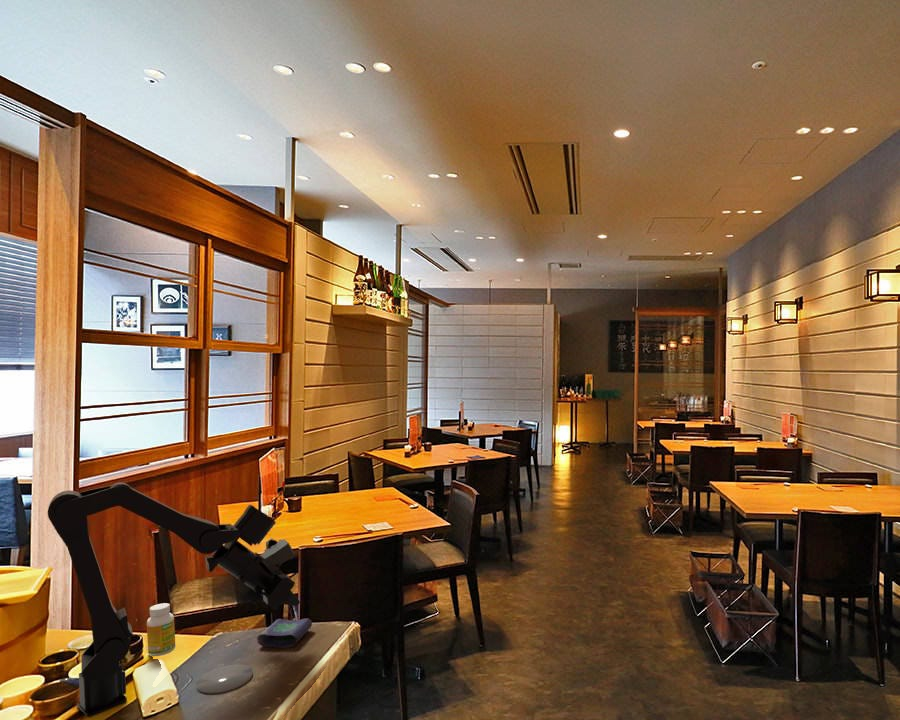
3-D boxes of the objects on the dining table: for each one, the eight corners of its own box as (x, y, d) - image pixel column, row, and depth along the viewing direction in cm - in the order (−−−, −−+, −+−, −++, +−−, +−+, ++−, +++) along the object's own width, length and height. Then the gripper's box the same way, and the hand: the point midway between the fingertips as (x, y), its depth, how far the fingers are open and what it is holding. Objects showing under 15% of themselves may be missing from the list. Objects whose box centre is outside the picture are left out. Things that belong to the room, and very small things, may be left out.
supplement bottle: (164, 657, 125) (162, 611, 126) (142, 656, 126) (140, 611, 127) (180, 646, 131) (178, 601, 131) (159, 645, 132) (157, 601, 132)
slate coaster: (211, 699, 106) (211, 696, 106) (187, 683, 113) (187, 680, 113) (262, 676, 113) (261, 673, 114) (236, 662, 120) (236, 659, 120)
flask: (256, 634, 127) (278, 615, 137) (256, 648, 127) (279, 628, 137) (296, 634, 125) (315, 615, 136) (297, 648, 125) (316, 628, 136)
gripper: (281, 538, 118) (337, 581, 123) (257, 523, 133) (308, 562, 139) (243, 588, 113) (302, 630, 119) (223, 566, 129) (276, 604, 134)
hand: (298, 603), depth 128 cm, fingers closed
